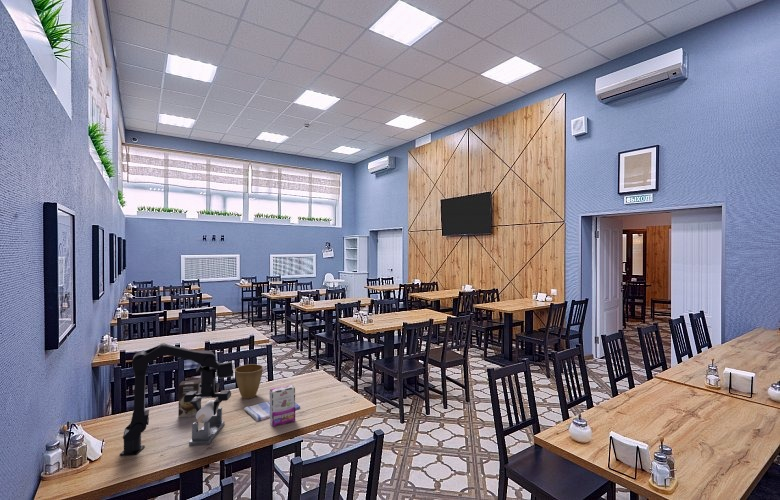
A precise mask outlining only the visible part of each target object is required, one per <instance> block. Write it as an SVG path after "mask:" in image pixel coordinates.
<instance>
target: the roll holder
mask: <svg viewBox="0 0 780 500" xmlns="http://www.w3.org/2000/svg"><path fill="white" fill-rule="evenodd" d="M224 425H225V420H223V407H220V406H219V408H218V410H217V412H216V415H213V416H212V417H211V418H210V419H209V420H208V421H207V422H205V423H203V425H202V426H201V427H200V429H199V422H198V421H194V422H193V423H191V439H190V440H189V441H188V446H189V447H190V446H207V445H209V446H210V444H211V442H212V441H213V440H214V438H216V436H217V434H218V433H219V432H220V430H221V429H223V426H224Z"/></svg>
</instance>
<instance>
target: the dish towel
mask: <svg viewBox="0 0 780 500" xmlns="http://www.w3.org/2000/svg"><path fill="white" fill-rule="evenodd" d="M300 408H301V406H300V405H299V404H297V403H296V402H295V411H297V410H299V409H300ZM244 410H245V412H246V413H247V414H249V416H250V417H252V418H253V419H254V420H255V421H256V422H259V421H264V420H267V419H270V400H269V401H266V402H265V401H264V402H261V403H257V404H254V405H251V406H246V407H244Z"/></svg>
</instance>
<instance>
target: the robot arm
mask: <svg viewBox="0 0 780 500" xmlns="http://www.w3.org/2000/svg"><path fill="white" fill-rule="evenodd" d="M162 356H169V357H175V358H179V359H184V360H188V361H192V362H195V363H197V364H199V366H198V367H197V368H195V370H196V373H200V380H201V384H200V387H201V393H200V394H198V392H197V391H189V392H188V393H187V394H186V395H185V396H184V398H183V402H190V404H192V405H193V406H194V407H195V409H196V411H197V412H198V411H199V410H200V409H201V408H202V399H214V400H215V401H214V415H216V414H217V409H218V406H219V407H220V405H221V403H222V402H224V401H225V402H227V401H228V400H229V399H230V398H231V397H232V391H231V390H229V389H226V390H225V389H224V390H223V389H222V390H220V386H221V384H220V383H219V382H217V380H216V377H218V379H220V380H221V379H224V378H232V377H233V376H234V369H233V368H234V367H233V361H226V362H220V361H219V360H217V359H216V356H215V353H214V352H213V351H211V350H206V349H205V350H203V349H202V350H193V349H188V348H184V347H179V346H175V345H171V344H167V343H164V342H163V343H160V344H159V345H157V346H154V347H150V348H149V349H147V350H144V351H143V350H141V351H138V352H136V353H135V354H134V355H133V358H132V360H131V361H132V362H131V365H132V370H133V375H134V390H133V391H134V393H133V395H134V396H133V411H132V415H131V421H130V423H129V424H128V425H127V426H126V427H125V428H124V431H123V436H122V440H123V450H122V451H121V452H120V453H119V456H134V455H138V454H139V453H140V452H141V451H142V450H143V449H144V448H145V446H146V445H144V444H143V445H142V433H143V432H144V431H145V430H146V429H147V426H148V425H149V424H150V416H149V415H150V409H147V410H146V408H145V406H146V405H145V402H146V401H145V400H146V399H145V398H146V379H147V378H146V375H147V371H148V367H149V363H152V362H154V361H155V360H157V359H158V358H160V357H162ZM219 390H220V392H217V391H219Z"/></svg>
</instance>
